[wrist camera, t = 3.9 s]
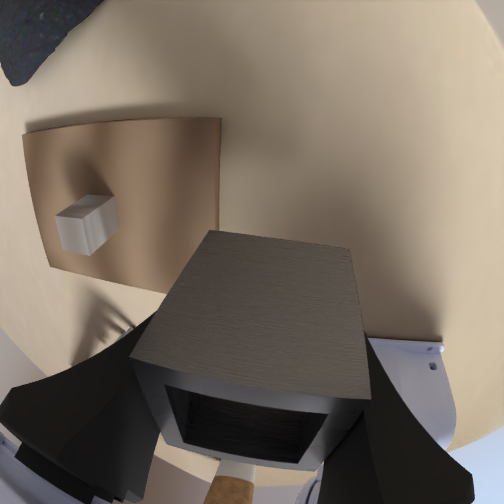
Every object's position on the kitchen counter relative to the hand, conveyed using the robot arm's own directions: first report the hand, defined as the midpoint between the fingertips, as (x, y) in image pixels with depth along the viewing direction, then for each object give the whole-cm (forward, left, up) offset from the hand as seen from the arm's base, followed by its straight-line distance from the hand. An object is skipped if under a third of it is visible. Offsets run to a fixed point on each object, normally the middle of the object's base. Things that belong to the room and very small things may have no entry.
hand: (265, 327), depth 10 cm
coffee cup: (+2, +43, -9) cm, 44 cm away
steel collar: (0, 0, -2) cm, 2 cm away
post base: (+12, 0, -9) cm, 15 cm away
